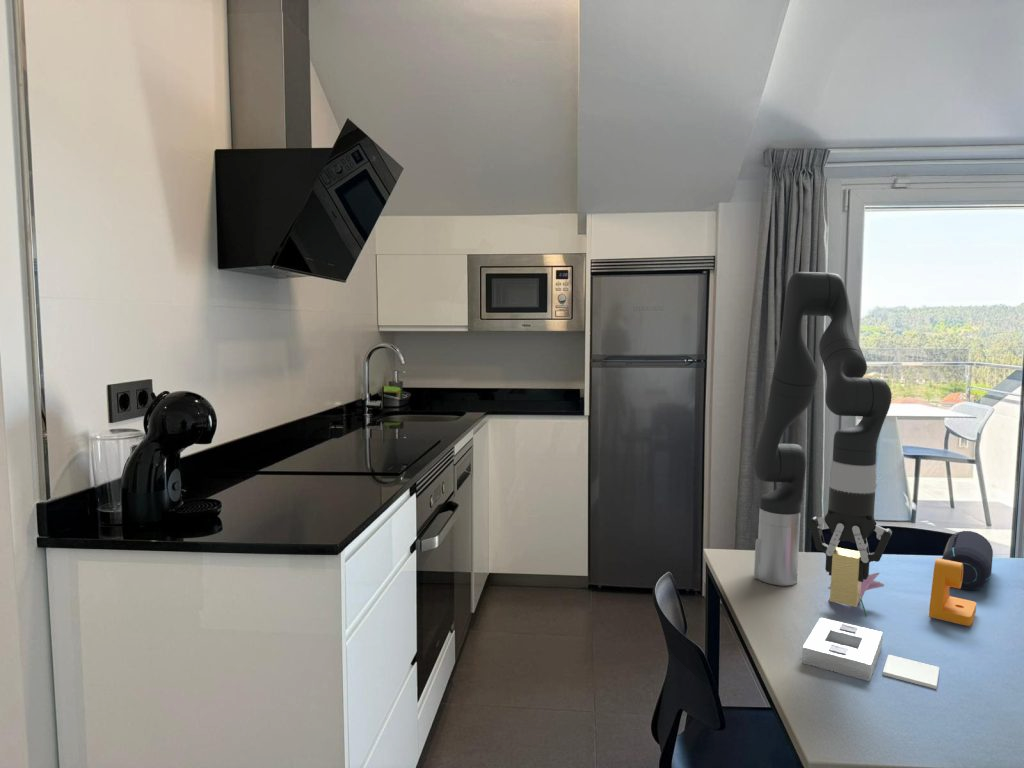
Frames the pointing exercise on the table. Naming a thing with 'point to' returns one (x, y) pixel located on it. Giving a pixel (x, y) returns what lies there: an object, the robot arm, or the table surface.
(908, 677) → the pad
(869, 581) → the lily
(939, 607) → the bracket
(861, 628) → the socket block
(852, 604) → the brass peg
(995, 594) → the table surface
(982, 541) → the portable speaker
